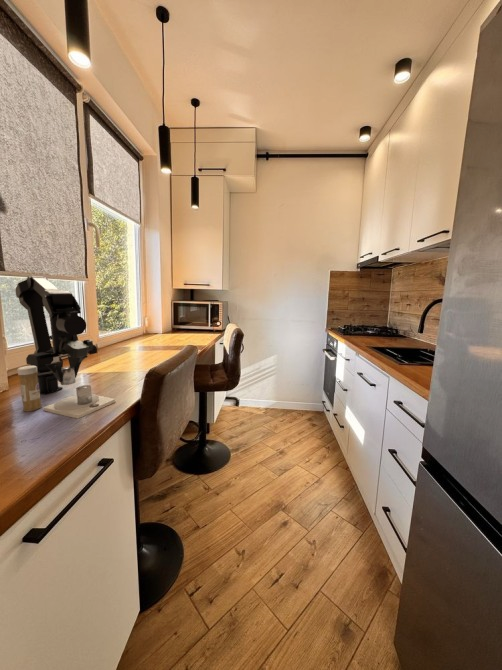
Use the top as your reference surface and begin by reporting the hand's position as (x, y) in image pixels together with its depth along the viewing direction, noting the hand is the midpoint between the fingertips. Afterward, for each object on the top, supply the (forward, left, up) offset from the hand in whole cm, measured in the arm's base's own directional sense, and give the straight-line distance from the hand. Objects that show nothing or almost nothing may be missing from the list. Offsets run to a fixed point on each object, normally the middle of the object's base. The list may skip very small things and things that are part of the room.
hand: (67, 379), depth 84 cm
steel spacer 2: (+7, 0, -7) cm, 10 cm away
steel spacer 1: (0, 0, -1) cm, 1 cm away
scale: (+5, 0, -8) cm, 9 cm away
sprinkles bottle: (-7, -7, -8) cm, 13 cm away
